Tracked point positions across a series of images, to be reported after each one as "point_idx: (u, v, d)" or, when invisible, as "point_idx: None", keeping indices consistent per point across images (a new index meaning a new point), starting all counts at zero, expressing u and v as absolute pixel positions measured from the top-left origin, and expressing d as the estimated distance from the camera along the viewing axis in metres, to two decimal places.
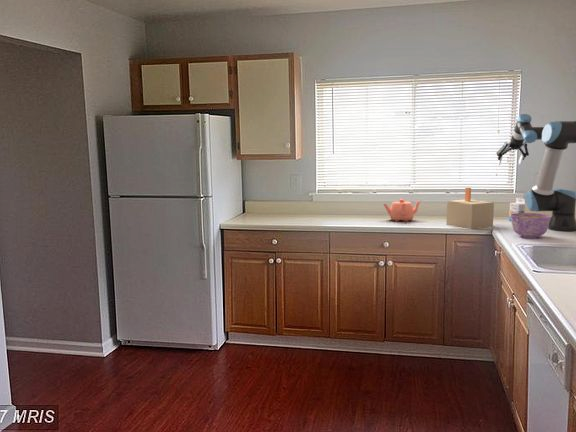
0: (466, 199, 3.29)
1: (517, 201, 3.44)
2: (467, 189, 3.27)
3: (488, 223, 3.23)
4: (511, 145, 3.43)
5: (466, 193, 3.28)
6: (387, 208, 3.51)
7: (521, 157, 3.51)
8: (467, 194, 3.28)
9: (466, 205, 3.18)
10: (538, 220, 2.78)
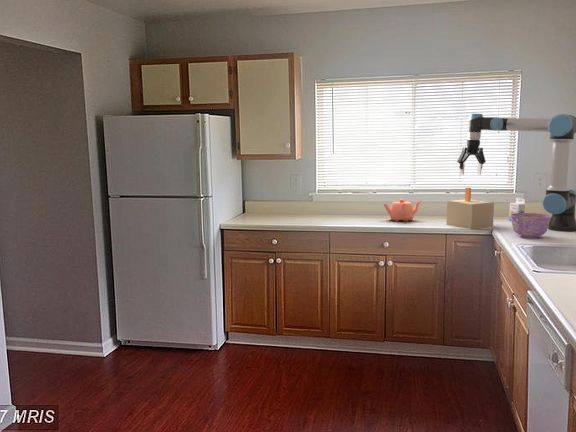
0: (466, 199, 3.29)
1: (517, 201, 3.44)
2: (467, 189, 3.27)
3: (488, 223, 3.23)
4: (470, 149, 3.27)
5: (466, 193, 3.28)
6: (387, 208, 3.51)
7: (479, 165, 3.33)
8: (467, 194, 3.28)
9: (466, 205, 3.18)
10: (538, 220, 2.78)
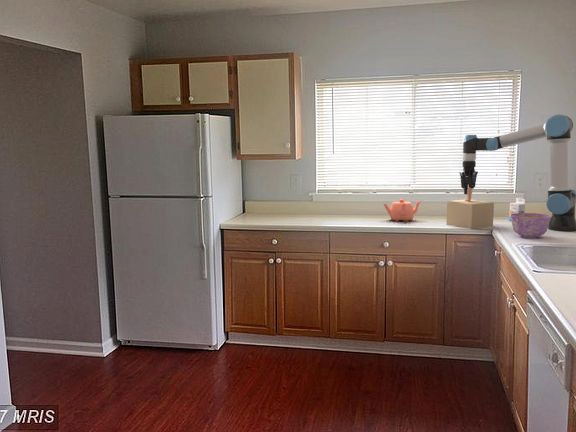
0: None
1: (517, 201, 3.44)
2: None
3: (488, 223, 3.23)
4: (466, 170, 3.24)
5: None
6: (387, 208, 3.51)
7: None
8: None
9: (466, 205, 3.18)
10: (538, 220, 2.78)
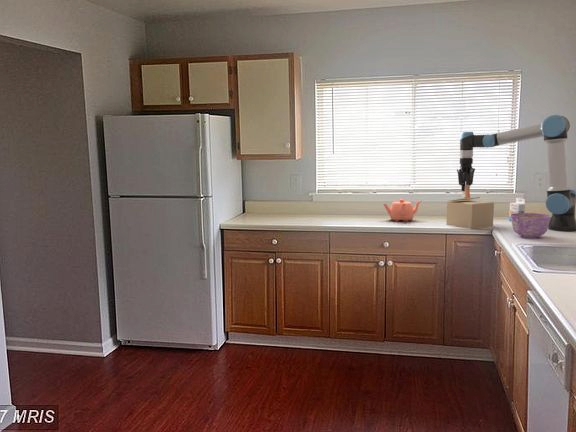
0: (466, 197, 3.29)
1: (517, 201, 3.44)
2: None
3: (488, 223, 3.23)
4: (463, 167, 3.26)
5: None
6: (387, 208, 3.51)
7: None
8: (466, 191, 3.29)
9: (466, 205, 3.18)
10: (538, 220, 2.78)
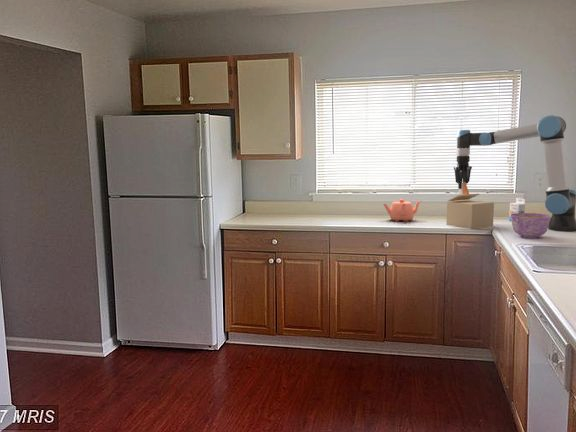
0: (465, 194, 3.29)
1: (517, 201, 3.44)
2: None
3: (488, 223, 3.23)
4: (460, 165, 3.28)
5: (463, 188, 3.31)
6: (387, 208, 3.51)
7: None
8: (464, 189, 3.30)
9: (466, 205, 3.18)
10: (538, 220, 2.78)
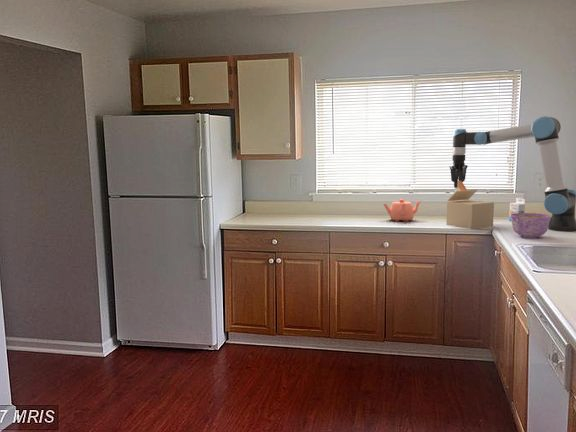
0: (463, 191, 3.31)
1: (517, 201, 3.44)
2: None
3: (488, 223, 3.23)
4: (456, 164, 3.31)
5: (460, 186, 3.33)
6: (387, 208, 3.51)
7: None
8: (461, 186, 3.32)
9: (466, 205, 3.18)
10: (538, 220, 2.78)
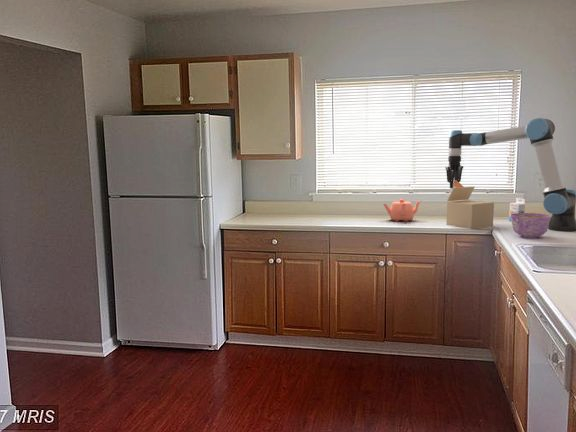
0: None
1: (517, 201, 3.44)
2: (454, 182, 3.36)
3: (488, 223, 3.23)
4: (452, 165, 3.34)
5: (456, 186, 3.35)
6: (387, 208, 3.51)
7: None
8: (457, 185, 3.34)
9: (466, 205, 3.18)
10: (538, 220, 2.78)
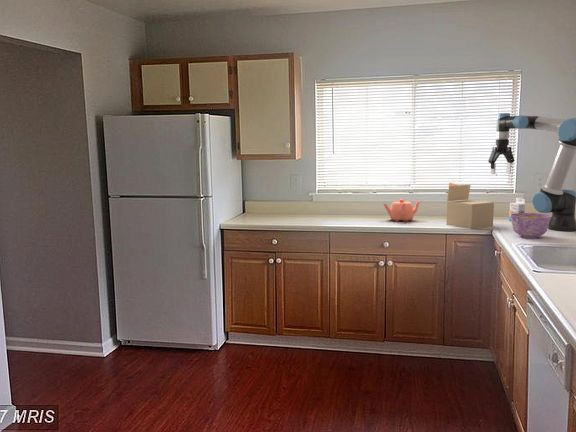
0: None
1: (517, 201, 3.44)
2: (450, 185, 3.40)
3: (488, 223, 3.23)
4: (499, 148, 3.28)
5: None
6: (387, 208, 3.51)
7: (508, 165, 3.35)
8: None
9: (466, 205, 3.18)
10: (538, 220, 2.78)
